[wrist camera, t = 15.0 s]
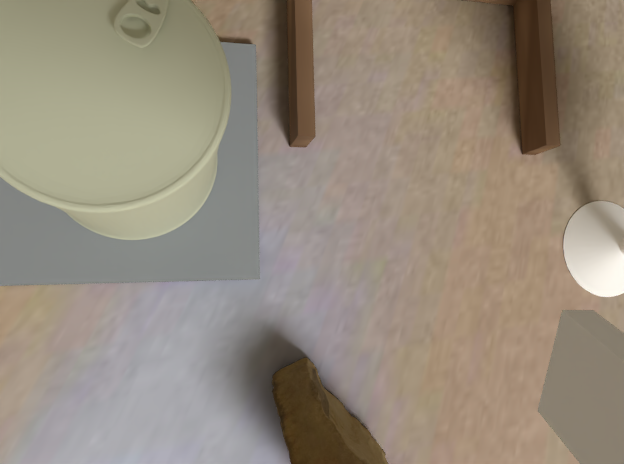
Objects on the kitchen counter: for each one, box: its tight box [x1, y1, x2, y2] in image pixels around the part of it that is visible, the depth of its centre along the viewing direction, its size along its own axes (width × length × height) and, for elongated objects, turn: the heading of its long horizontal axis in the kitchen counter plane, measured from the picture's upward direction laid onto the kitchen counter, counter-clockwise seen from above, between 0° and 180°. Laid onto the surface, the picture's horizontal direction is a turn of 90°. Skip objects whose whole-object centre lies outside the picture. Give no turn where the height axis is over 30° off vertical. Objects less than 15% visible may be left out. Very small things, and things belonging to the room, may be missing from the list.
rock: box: [272, 358, 388, 464], centre depth 28 cm, size 11×9×10 cm
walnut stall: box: [287, 0, 560, 155], centre depth 34 cm, size 17×12×2 cm
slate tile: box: [0, 42, 260, 286], centre depth 30 cm, size 14×14×1 cm
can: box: [0, 0, 231, 240], centre depth 24 cm, size 9×9×12 cm
